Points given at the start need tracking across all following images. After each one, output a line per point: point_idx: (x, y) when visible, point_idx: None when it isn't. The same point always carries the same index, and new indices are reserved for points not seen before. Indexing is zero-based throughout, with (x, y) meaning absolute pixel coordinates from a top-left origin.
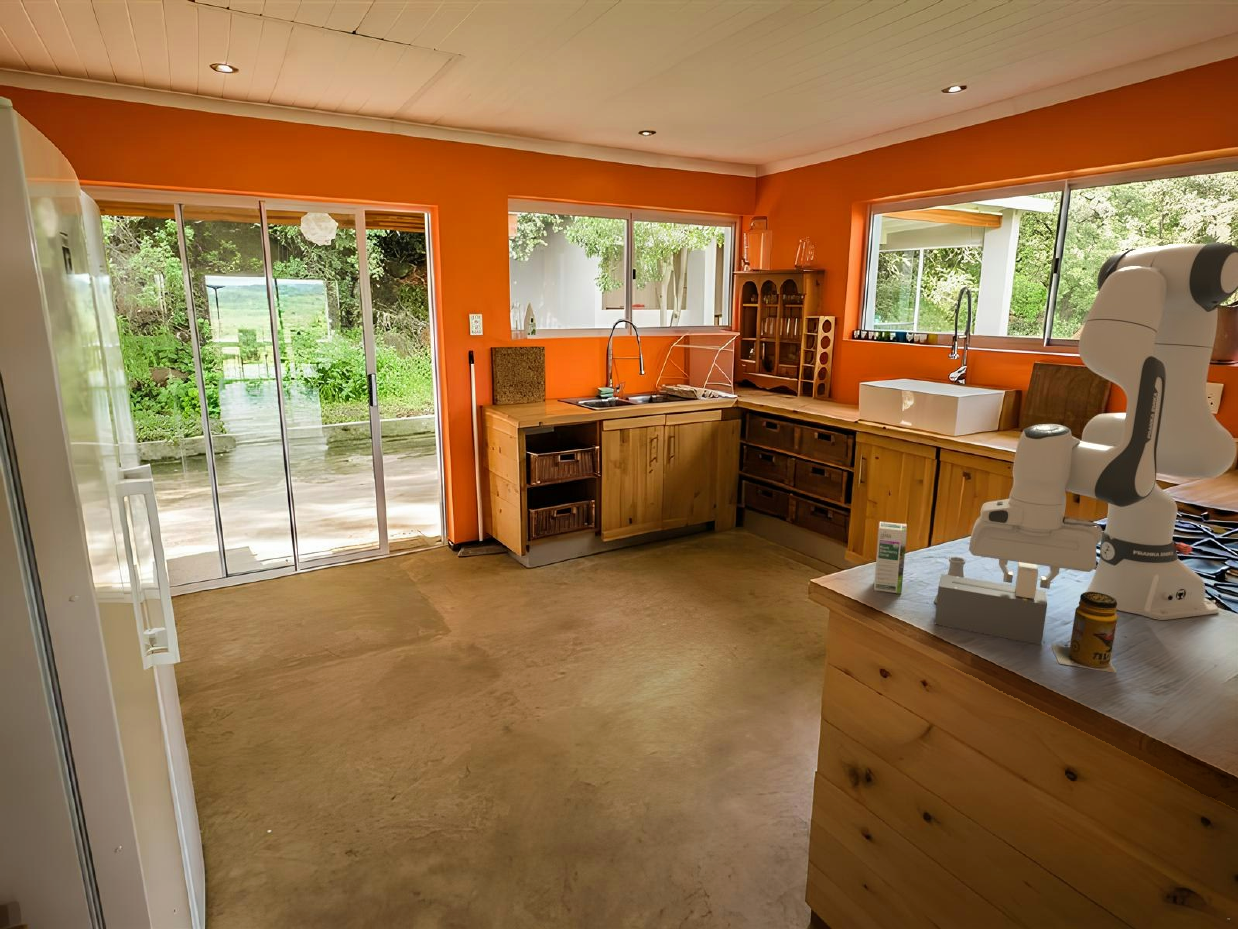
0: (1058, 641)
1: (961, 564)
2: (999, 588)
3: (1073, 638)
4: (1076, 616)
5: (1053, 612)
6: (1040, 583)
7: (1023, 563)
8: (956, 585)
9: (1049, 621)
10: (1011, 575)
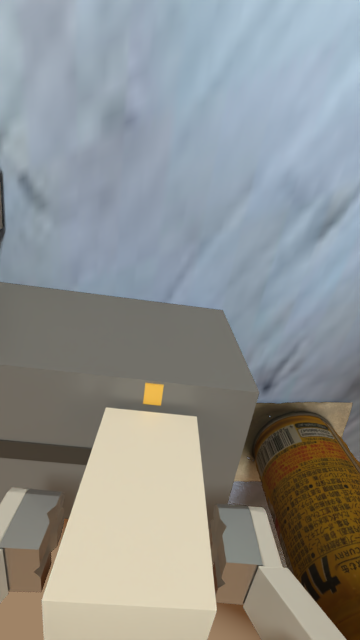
0: (254, 371)
1: None
2: (28, 436)
3: (268, 503)
4: None
5: (320, 119)
6: (215, 532)
7: (86, 623)
8: None
9: (273, 228)
10: (33, 587)
